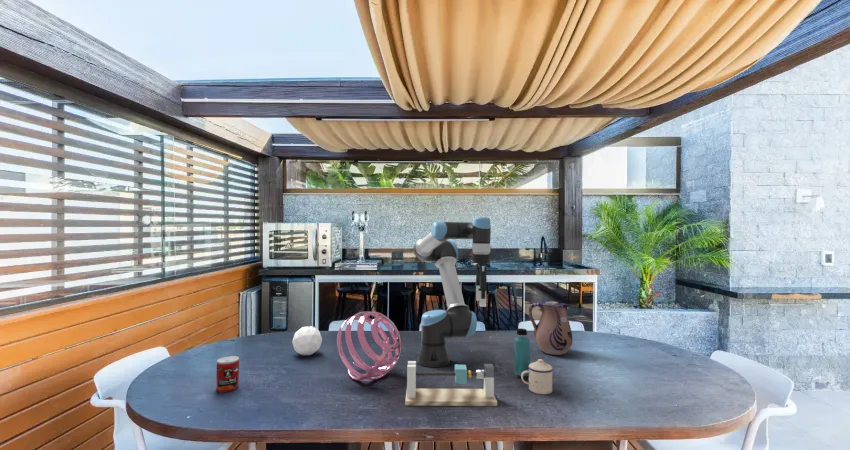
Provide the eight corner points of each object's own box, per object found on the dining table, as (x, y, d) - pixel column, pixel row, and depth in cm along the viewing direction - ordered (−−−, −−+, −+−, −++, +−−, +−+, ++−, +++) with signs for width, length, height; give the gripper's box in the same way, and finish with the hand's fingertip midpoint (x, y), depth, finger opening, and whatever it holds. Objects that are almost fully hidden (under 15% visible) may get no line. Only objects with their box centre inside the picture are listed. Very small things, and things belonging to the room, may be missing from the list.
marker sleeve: (455, 383, 135) (455, 369, 135) (454, 378, 140) (454, 364, 140) (466, 383, 135) (467, 369, 135) (465, 378, 140) (465, 364, 140)
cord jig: (405, 405, 131) (405, 369, 132) (406, 392, 142) (406, 358, 143) (497, 406, 132) (497, 369, 132) (491, 392, 143) (491, 359, 143)
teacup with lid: (548, 385, 150) (548, 355, 151) (556, 395, 141) (556, 363, 141) (518, 385, 150) (518, 355, 151) (524, 394, 141) (524, 363, 141)
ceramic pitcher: (578, 358, 184) (577, 306, 185) (534, 358, 184) (534, 306, 185) (565, 347, 201) (565, 300, 202) (525, 347, 202) (525, 300, 202)
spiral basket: (316, 326, 163) (355, 295, 151) (366, 330, 183) (404, 304, 171) (325, 393, 148) (369, 365, 136) (378, 390, 167) (421, 365, 155)
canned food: (215, 393, 140) (216, 363, 140) (216, 386, 147) (217, 357, 147) (238, 390, 143) (239, 360, 144) (238, 382, 151) (239, 354, 151)
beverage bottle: (530, 380, 155) (530, 331, 156) (514, 379, 157) (514, 330, 157) (529, 374, 162) (529, 327, 162) (513, 373, 163) (513, 326, 164)
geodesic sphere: (315, 335, 200) (302, 316, 193) (334, 339, 192) (320, 320, 185) (296, 358, 190) (281, 339, 183) (314, 364, 182) (299, 344, 175)
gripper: (494, 255, 149) (494, 309, 148) (486, 252, 174) (486, 298, 173) (475, 255, 149) (474, 309, 149) (470, 251, 174) (469, 298, 174)
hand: (480, 303), depth 161 cm, fingers open, 13 cm apart
